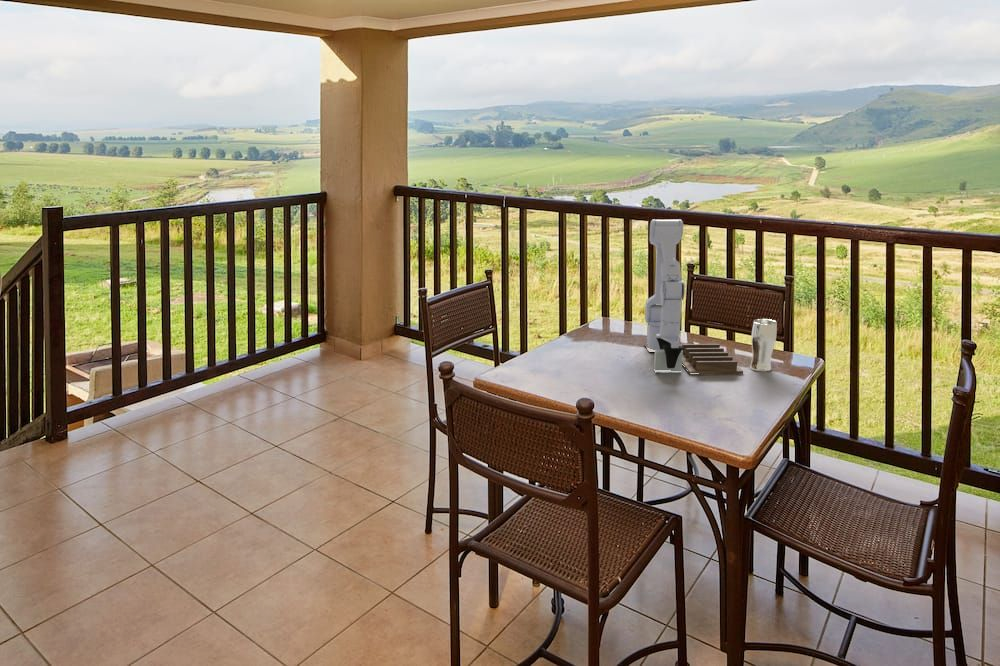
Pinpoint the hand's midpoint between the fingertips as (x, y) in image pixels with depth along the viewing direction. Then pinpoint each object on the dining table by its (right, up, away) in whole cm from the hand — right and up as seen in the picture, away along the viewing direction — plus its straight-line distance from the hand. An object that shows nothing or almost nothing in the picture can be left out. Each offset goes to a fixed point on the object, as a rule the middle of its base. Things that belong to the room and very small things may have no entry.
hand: (667, 363), depth 197 cm
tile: (0, -3, +1) cm, 3 cm away
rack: (+14, -1, +7) cm, 16 cm away
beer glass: (+29, -2, +2) cm, 29 cm away
